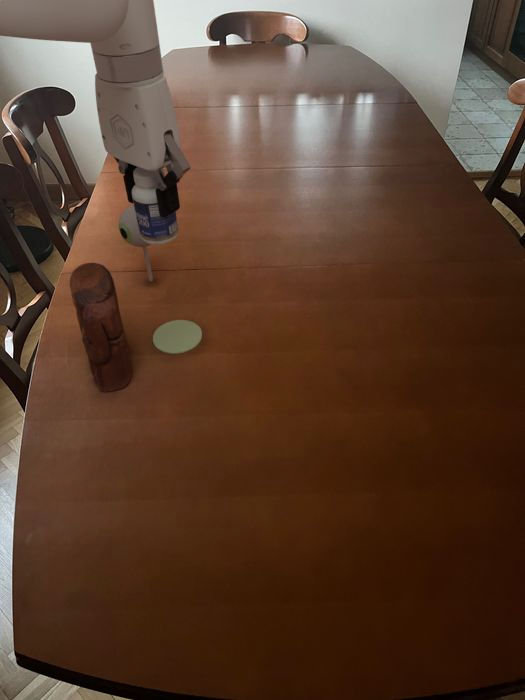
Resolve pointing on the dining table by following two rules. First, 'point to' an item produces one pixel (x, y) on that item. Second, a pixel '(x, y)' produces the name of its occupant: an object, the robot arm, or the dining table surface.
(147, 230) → the pill bottle
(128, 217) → the lollipop
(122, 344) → the wooden figurine
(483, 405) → the dining table surface
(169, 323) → the coaster
